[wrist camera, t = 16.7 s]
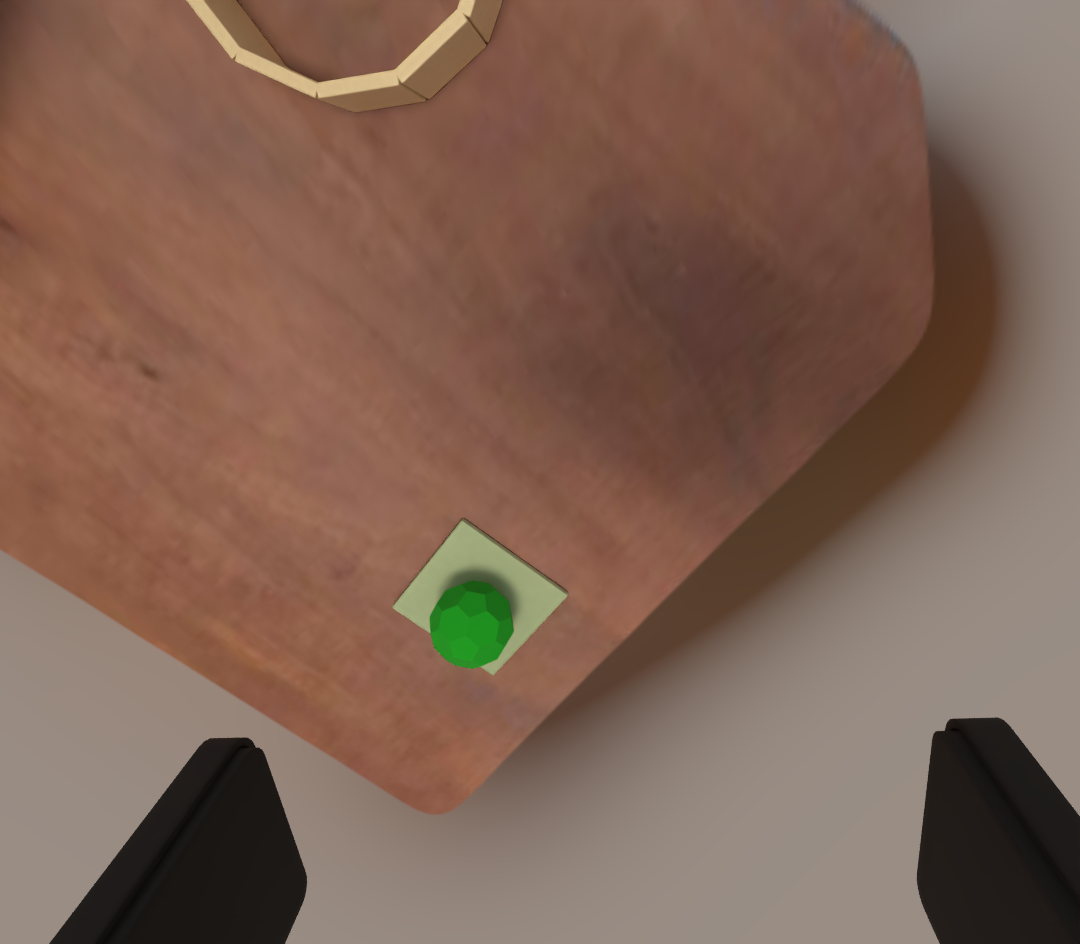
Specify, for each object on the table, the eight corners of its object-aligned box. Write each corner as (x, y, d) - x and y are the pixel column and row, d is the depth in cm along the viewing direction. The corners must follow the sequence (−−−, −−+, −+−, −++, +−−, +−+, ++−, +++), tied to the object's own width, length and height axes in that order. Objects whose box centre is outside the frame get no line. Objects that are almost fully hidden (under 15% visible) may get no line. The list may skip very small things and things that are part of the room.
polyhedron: (464, 645, 43) (447, 695, 38) (425, 584, 41) (403, 629, 37) (532, 618, 41) (524, 668, 37) (495, 555, 40) (481, 598, 36)
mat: (463, 517, 40) (461, 520, 39) (568, 592, 41) (568, 595, 41) (393, 604, 42) (391, 607, 42) (494, 672, 44) (493, 675, 43)
